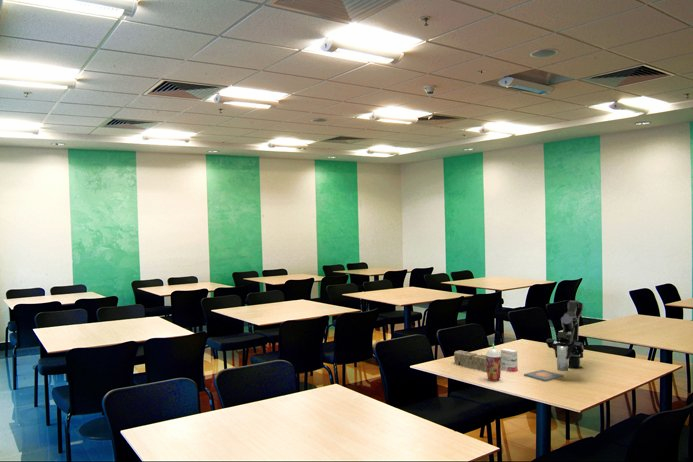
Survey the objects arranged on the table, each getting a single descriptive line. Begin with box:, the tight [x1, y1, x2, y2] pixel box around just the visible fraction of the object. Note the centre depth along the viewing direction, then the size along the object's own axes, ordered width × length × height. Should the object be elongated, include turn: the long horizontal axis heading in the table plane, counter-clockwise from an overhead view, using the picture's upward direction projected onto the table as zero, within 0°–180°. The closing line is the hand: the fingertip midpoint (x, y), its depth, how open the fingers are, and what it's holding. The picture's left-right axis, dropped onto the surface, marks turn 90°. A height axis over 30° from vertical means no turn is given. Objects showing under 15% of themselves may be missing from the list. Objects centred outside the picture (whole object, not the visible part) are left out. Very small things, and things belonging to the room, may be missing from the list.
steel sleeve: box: [556, 345, 569, 372], centre depth 286 cm, size 6×6×13 cm
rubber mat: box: [523, 369, 565, 382], centre depth 294 cm, size 16×14×1 cm
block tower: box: [453, 349, 487, 373], centre depth 316 cm, size 8×8×29 cm
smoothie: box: [485, 343, 502, 382], centre depth 289 cm, size 8×8×20 cm
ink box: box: [500, 348, 519, 373], centre depth 309 cm, size 8×5×12 cm, turn 39°
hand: (561, 358), depth 285 cm, fingers closed on steel sleeve, 5 cm apart
